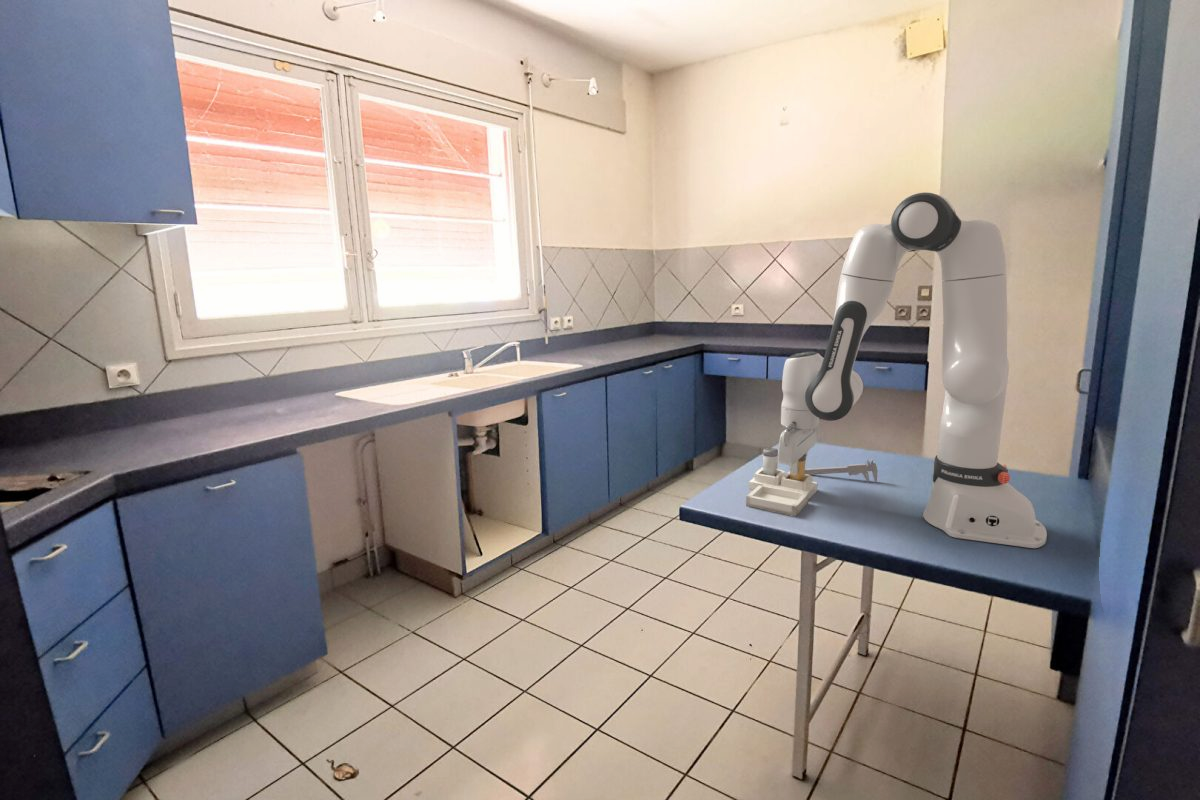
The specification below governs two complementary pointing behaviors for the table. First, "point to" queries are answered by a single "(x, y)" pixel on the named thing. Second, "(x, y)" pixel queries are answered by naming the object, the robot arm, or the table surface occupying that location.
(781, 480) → the block
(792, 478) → the fuse
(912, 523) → the table surface
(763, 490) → the parts tray
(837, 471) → the caliper
